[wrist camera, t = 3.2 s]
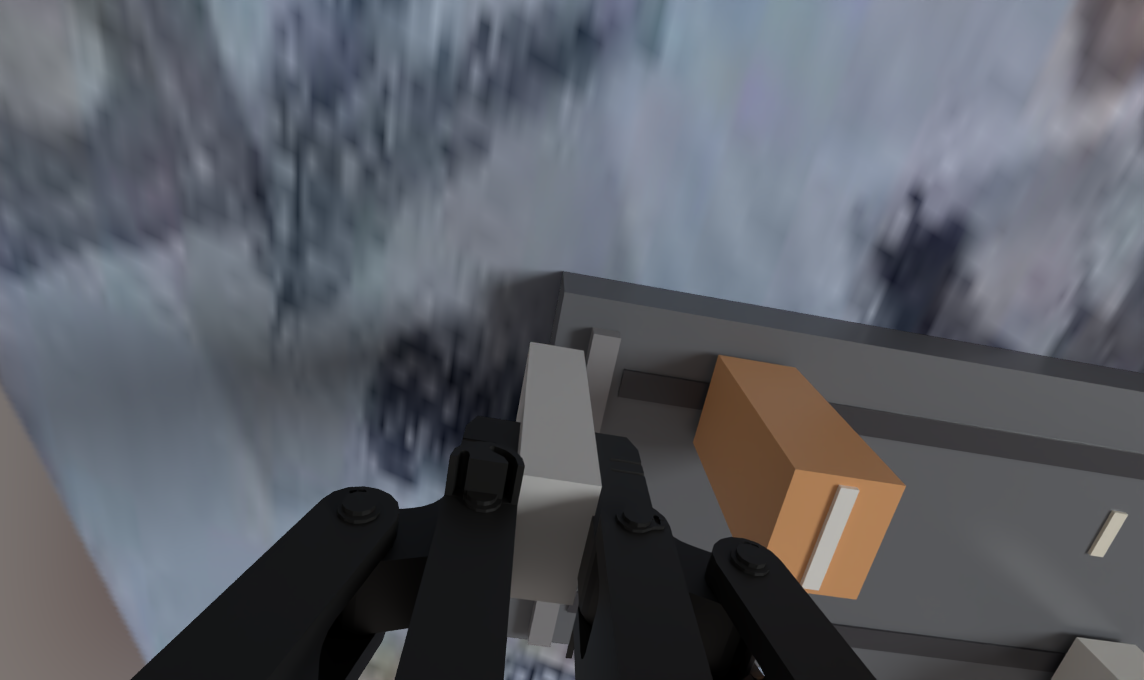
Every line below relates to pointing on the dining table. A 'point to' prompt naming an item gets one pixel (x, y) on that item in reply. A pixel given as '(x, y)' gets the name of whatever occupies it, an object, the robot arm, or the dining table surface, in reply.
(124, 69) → the dining table surface
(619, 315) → the console
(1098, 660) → the block
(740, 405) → the orange fader
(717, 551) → the robot arm
